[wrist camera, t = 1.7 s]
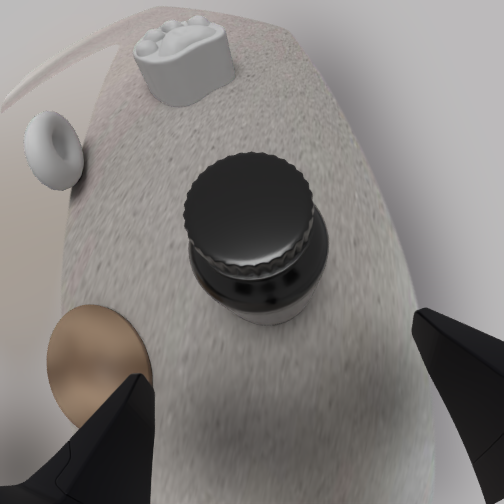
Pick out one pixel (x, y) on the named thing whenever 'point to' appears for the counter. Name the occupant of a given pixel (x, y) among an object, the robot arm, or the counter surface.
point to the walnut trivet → (92, 359)
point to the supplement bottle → (256, 237)
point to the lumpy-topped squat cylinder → (185, 60)
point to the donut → (53, 151)
